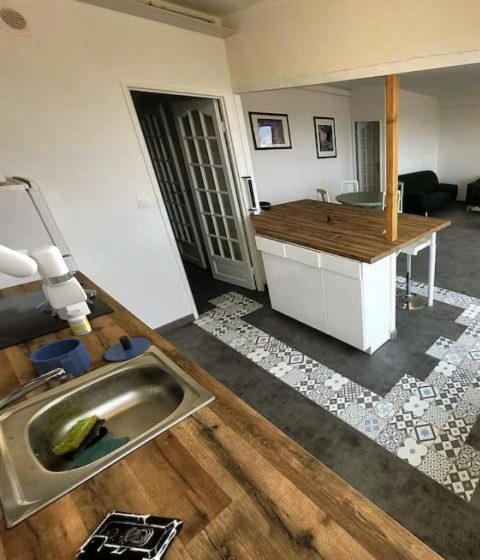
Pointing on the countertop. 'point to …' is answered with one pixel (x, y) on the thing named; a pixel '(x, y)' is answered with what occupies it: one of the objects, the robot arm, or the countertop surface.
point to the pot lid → (127, 348)
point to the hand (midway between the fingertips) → (77, 316)
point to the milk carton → (78, 306)
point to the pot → (62, 357)
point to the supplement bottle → (78, 322)
